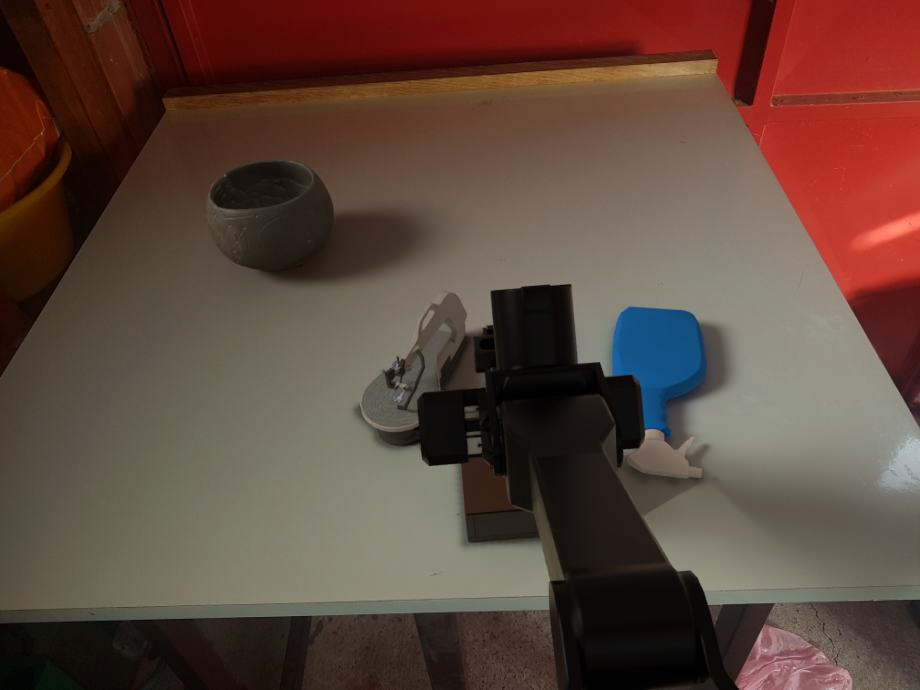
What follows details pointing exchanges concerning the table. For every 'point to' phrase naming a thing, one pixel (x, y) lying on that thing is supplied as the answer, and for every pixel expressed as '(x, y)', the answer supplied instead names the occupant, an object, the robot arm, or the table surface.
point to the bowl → (269, 214)
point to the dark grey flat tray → (500, 525)
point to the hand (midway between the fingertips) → (522, 412)
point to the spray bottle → (660, 378)
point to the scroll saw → (416, 371)
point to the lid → (483, 488)
